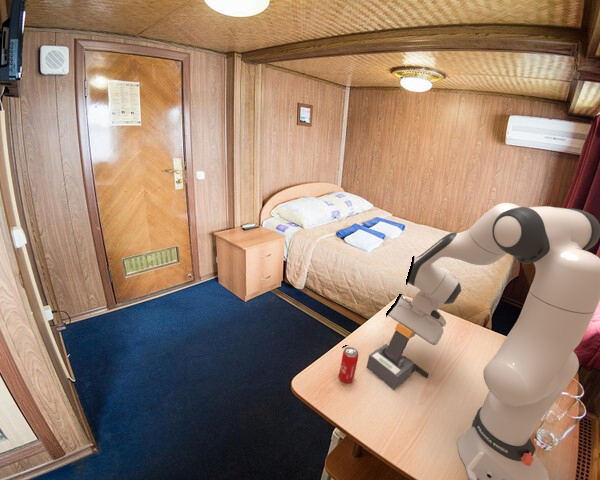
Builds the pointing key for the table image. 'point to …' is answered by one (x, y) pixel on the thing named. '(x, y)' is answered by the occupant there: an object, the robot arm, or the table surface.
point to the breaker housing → (389, 367)
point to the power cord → (418, 369)
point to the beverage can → (348, 364)
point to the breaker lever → (398, 343)
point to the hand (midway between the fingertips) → (401, 339)
